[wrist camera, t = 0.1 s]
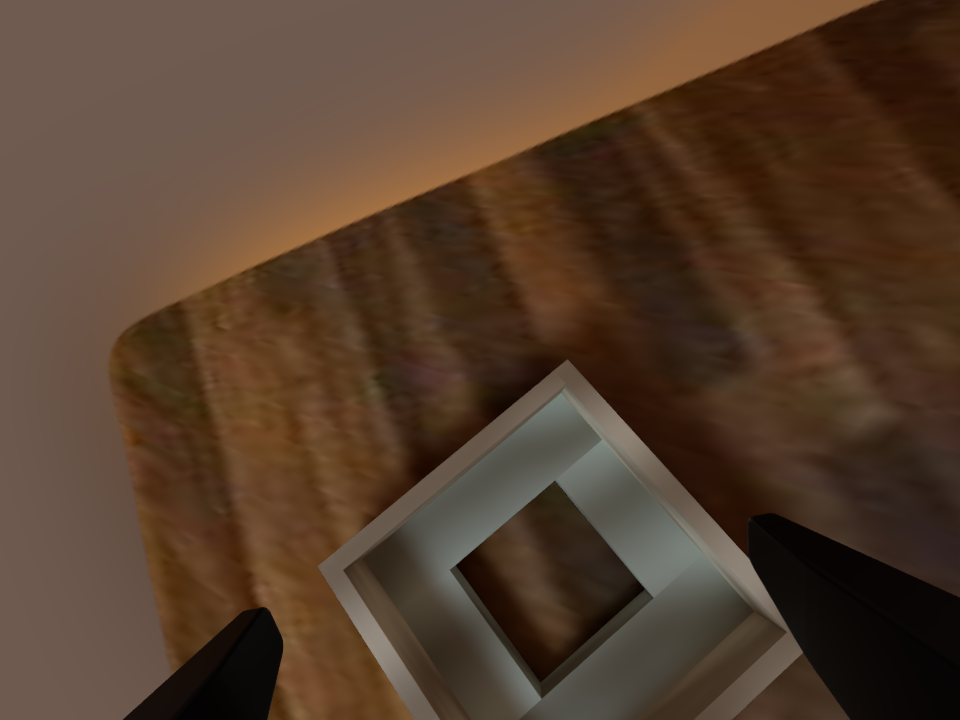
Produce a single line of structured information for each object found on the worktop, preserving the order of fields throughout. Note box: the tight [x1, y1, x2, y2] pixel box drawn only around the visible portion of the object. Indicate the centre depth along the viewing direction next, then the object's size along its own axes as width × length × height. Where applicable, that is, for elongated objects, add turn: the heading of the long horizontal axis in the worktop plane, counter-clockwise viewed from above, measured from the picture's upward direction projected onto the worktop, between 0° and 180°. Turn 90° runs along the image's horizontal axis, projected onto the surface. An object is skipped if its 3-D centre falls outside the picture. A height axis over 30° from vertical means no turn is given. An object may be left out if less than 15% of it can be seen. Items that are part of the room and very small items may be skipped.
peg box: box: [318, 359, 803, 720], centre depth 20 cm, size 14×14×4 cm
